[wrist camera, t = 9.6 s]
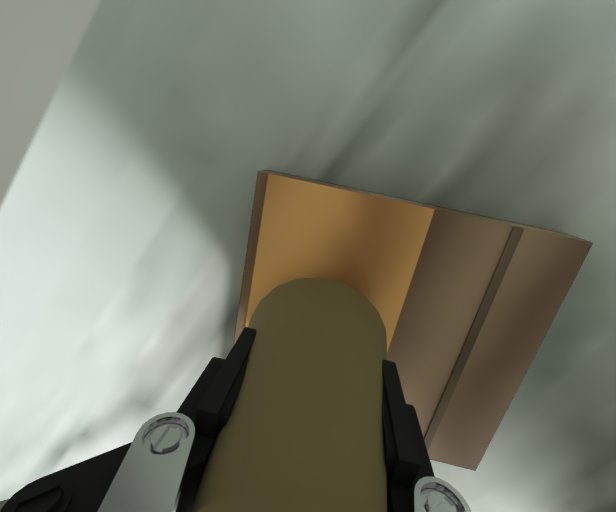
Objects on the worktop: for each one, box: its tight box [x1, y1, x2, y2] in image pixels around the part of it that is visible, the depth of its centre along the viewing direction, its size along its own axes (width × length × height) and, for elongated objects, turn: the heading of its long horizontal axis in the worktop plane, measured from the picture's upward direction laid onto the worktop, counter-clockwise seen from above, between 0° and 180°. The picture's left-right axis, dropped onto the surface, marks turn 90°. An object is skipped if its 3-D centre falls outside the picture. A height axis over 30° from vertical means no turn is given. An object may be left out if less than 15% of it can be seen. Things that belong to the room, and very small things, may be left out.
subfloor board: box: [233, 170, 593, 471], centre depth 15 cm, size 14×13×2 cm
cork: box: [191, 277, 388, 512], centre depth 8 cm, size 6×6×11 cm
